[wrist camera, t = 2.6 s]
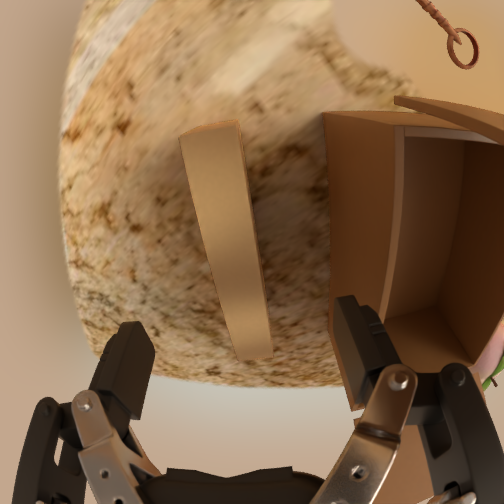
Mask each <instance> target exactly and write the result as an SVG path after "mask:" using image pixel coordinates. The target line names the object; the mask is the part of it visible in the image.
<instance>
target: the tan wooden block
mask: <svg viewBox="0 0 504 504" xmlns="http://www.w3.org/2000/svg"><path fill="white" fill-rule="evenodd" d="M179 142H180V147H181V151H182V156H183V160H184V165H185V169H186V174H187V178H188V182H189V187H190V191H191V195H192V199H193V203H194V207H195V211H196V215H197V219H198V223H199V227H200V231H201V235H202V239H203V243H204V247H205V250H206V254H207V258H208V262H209V265H210V269H211V272H212V276H213V280H214V283H215V287H216V290H217V294H218V297H219V301H220V304H221V308H222V311H223V314H224V318H225V321H226V324H227V328H228V331H229V334H230V337H231V341H232V344H233V347H234V350H235V353H236V357H237V360H238V361H244V360H254V359H262V358H270V357H274V353H273V344H272V335H271V327H270V318H269V309H268V302H267V296H266V289H265V283H264V276H263V270H262V263H261V257H260V250H259V244H258V238H257V231H256V225H255V219H254V212H253V206H252V200H251V194H250V187H249V181H248V175H247V169H246V163H245V157H244V150H243V144H242V138H241V132H240V126H239V120H238V119H236V120H230V121H224V122H219V123H214V124H208V125H203V126H199V127H196V128H194V129H192V130H190V131H188V132H186V133H184V134H182V135H180V136H179Z"/></svg>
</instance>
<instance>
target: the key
mask: <svg viewBox="0 0 504 504" xmlns="http://www.w3.org/2000/svg"><path fill="white" fill-rule="evenodd" d="M416 1H417V2H418V3H419V4H420V5H421V6H422V8H423V9H424V10H425V11H426V12H429V13H430V15H431V17H432V18H433V19H435V20H436V21H437V22H438V24H439V25H440V26H441V27H442V28H443V29H444V30H445V31H446V32H447V33H448V35H449V36H448V40H447V49H448V53H449V56H450V58H451V59H452V61H453V62H454V63H455V64H456V65H457V66H458V67H460V68H462V69H471V68H472V67H474V66H475V65H476V63H477V62H478V58H479V46H478V43H477V41H476V39H475V37H474V36H473V35H472V34H471V33H470V32H469V31H468V30H466V29H463V28H456V29H453V28H452V27H451V26H450V24H449V23H448V21H447V20H446V19H445V18H444V17H443V16H442V15H441V13H440V12H439V11H438V10H436V9H435V6H434V5H433V4H432V2H429V1H428V0H416ZM458 32H463V33H464V34H466V35H467V36H468V37H469V39H470V40H471V42H472V45H473V48H474V55H473V59H472V61H471V62H470V63H469V64H468V65H463V64H462V63H461V62H460V61H459V60H458V59H457V57H456V55H455V53H454V50H453V40H454V41H456V42H457V43H459V44H460V45H461V44H462V43H461V41H460V38H459V35H458V34H457V33H458Z"/></svg>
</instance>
